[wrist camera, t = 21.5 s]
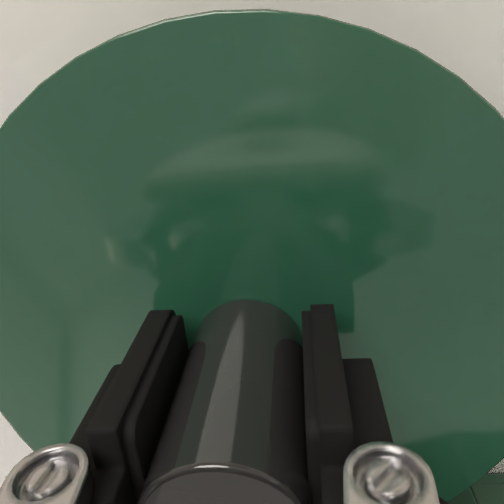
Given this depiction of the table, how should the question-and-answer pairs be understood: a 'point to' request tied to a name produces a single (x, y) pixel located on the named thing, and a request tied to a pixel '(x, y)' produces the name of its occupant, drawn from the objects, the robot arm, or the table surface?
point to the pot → (483, 491)
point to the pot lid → (256, 244)
